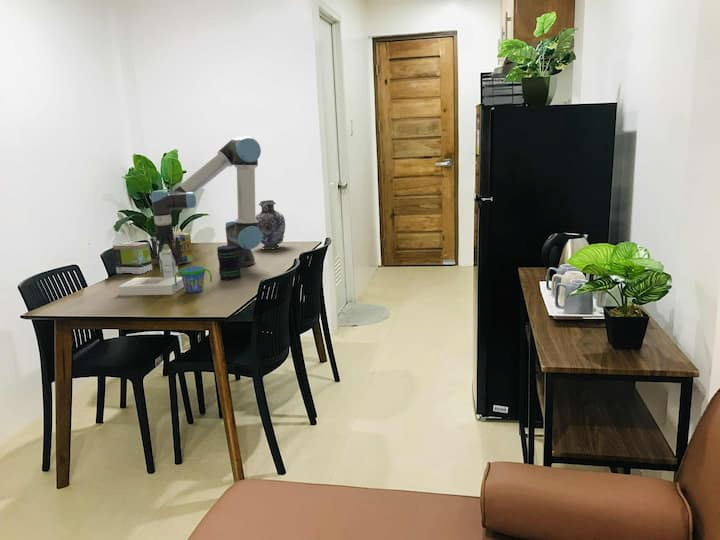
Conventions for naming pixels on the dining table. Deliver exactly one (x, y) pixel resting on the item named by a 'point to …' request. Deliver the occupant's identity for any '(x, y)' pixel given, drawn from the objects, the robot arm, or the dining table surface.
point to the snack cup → (193, 278)
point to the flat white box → (151, 286)
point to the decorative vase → (270, 225)
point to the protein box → (183, 247)
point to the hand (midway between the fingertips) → (169, 272)
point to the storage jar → (229, 262)
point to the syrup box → (167, 263)
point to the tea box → (132, 258)
